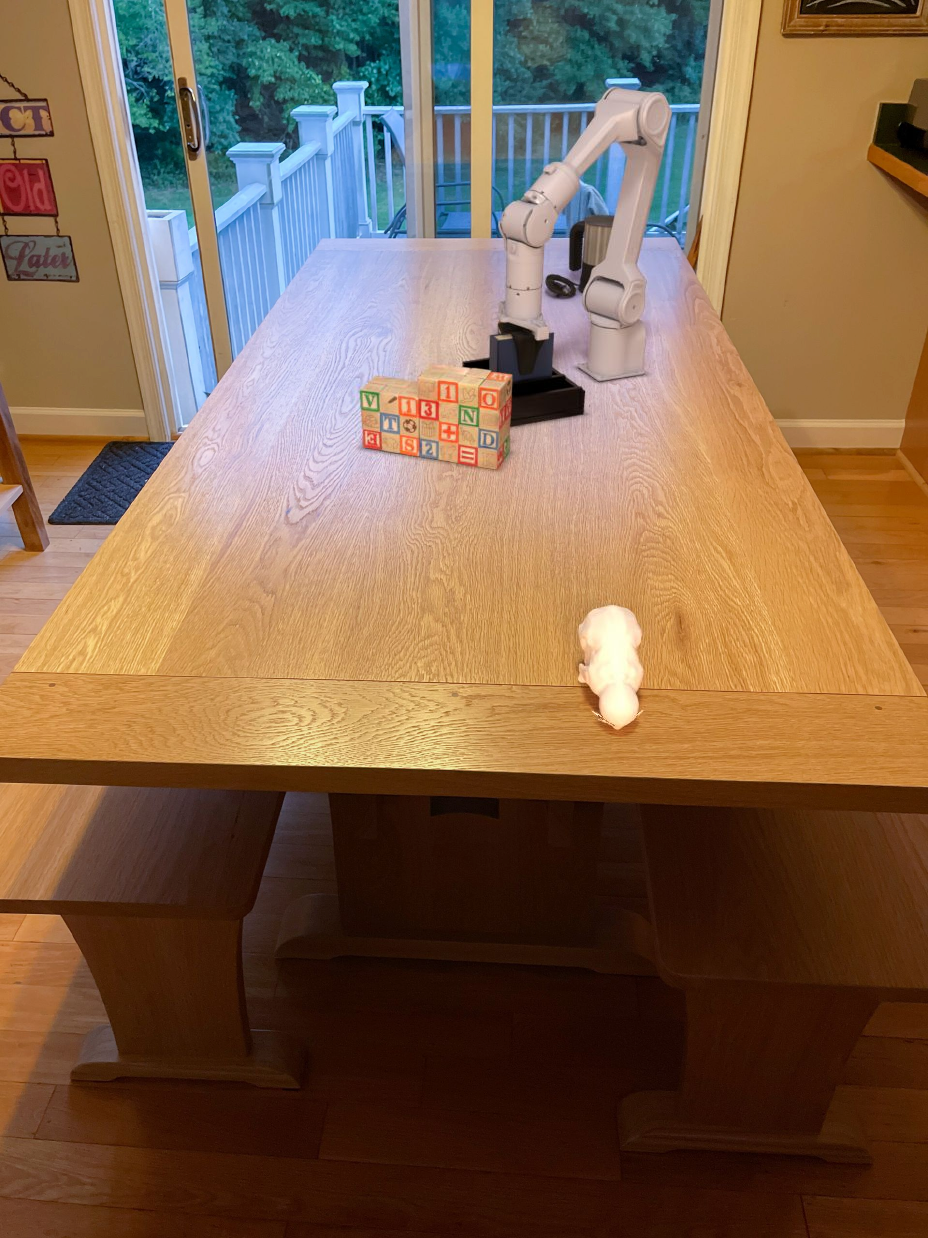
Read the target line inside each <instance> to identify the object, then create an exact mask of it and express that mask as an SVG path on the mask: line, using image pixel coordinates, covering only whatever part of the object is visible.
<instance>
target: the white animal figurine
mask: <svg viewBox="0 0 928 1238" xmlns="http://www.w3.org/2000/svg"><path fill="white" fill-rule="evenodd" d="M577 634H578V637H579V640H578V641H579V645H580V647H581V649H582V651H584V660H583V663H579V664H578V672H579V673H578V676H577V680H578V682H579V683H580V684H586V685H588V687H589V688H590V690H591V691H592V692H593V694H595V695H597V697H598V698H599V700H598V708H599V713H598V712H595V711H594V710H591V712H592V713H593V714H594V715H596V716H597V717H598V715H599V716H600V717H602V716H603V718H604V719H605V720H607V721H608V722H609V723H608V722H606V721H605V720H602V719H601V718H597V720H598V721H600V722H602V723H605V724H608V725H609V726H611V727H612V728H613V729H614V730H620V729H622V728H623V727H625V726H627V725H629V724H630V723H631V722H633V721H634V720H635V719H636V718H637V717H638V716H639V715H641V714H642V713H643V710H640V712H639V708H640V704H639V698H638V695H637V692H638V691H639V689H640V686H641V684H642V682H643V678H644V673H645V671H644V668H643V665H642V664H641V662H640V658H639V654H638V648H639V646H640V645H641V643H642V637H643V630H642V628H641V626H640V625H639V623H638V620H637V618H636V615H635V614H634V612H633V611H632V610H630V609H629V608H627V607H624V606H623V607H622V606H619V605H615V604H607V605H605V606H600V607H596V608H594V609H592V610H591V611H589V612H588V613H587V614H586V616H585V618H584V619H583V622H582V623H580V624H579V625H578V630H577ZM584 663H585V665H586V666H584ZM638 712H639V713H638ZM637 713H638V714H637ZM601 715H602V716H601ZM637 715H638V716H637ZM636 716H637V717H636ZM610 723H612V724H614V725H615V726H613V725H612V724H610Z"/></svg>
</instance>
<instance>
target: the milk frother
mask: <svg viewBox="0 0 928 1238" xmlns="http://www.w3.org/2000/svg"><path fill="white" fill-rule="evenodd" d="M614 216H615V214H613V215H612V214H592V215H587V216H585V217H584V218H583V220H579V221H577V222H575V223H574V224H572V226H571V228H570V230H569V237H568V238H569V240H568V241H569V242H568V269H569V271H571V272H577V271H578V272H579V271H580V270H581V271H580V277H579V280H578V281H579V284H578V283H576V282H574V281H573V280H570V279H569V278H567V277H565V276H563V275H562V276H561V274H554V273H551V274H547V275H546V276H545V279H544V282H545V286H546V288H547V290H549V291H550V292H551V293H553V294H555V295H556V297H564V298H568V297H573V296H575V295H576V293H577V288H576V287H578V290H579V291H580V292H581V293H583V292H584V289H585V287H586V285H587V283H588V281H589V279H590V276H591V272H592V269H593V268H594V267H596V266H597V265H598V264H600V263H601V262H603V261H604V260H605V258H606V253H607V248H608V244H609V239H610V235H611V230H612V226H613V221H614ZM611 280H612V281H615V282H619V281H616V280H613V279H611ZM619 283H621V282H619ZM567 287H568V288H569V291H568V290H567V289H566V288H567Z"/></svg>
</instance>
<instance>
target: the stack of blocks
mask: <svg viewBox="0 0 928 1238" xmlns="http://www.w3.org/2000/svg"><path fill="white" fill-rule="evenodd" d="M511 401H512V375H511V374H504V373H497V372H491V370H484V369H476V368H464V367H462V366H455V365H446V364H440V363H439V364H438V363H431V364H430V365H428V367H427V368H426V369H425V370H424V371H423V372H422V373H421V374H420V375H419V376H418V377H417V381H415V380H412V379H404V378H397V377H395V378H394V377H388V376H381V375H375V376H373V377H372V378H371V379H370V380H369V381H368V382H367V383H366V384H364V385H363V386H362V387H361V388H360V389H359V407H360V412H361V413H360V415H361V418H360V419H361V428H362V446H363V447H362V448H367V449H372V450H379V451H383V452H388V453H396V454H401V455H408V456H413V457H420V458H426V459H432V460H440V461H445V462H451V463H458V464H461V465H467V466H472V467H479V468H482V469H483V468H484V469H489V470H498V469H499V467H501V465H502V463H503V462H504V460H505V459H506V457H507V456H508V455H509V453H510V441H511V440H510V438H511V435H510V433H511V427H510V420H511V404H512V402H511Z"/></svg>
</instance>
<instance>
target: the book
mask: <svg viewBox="0 0 928 1238" xmlns="http://www.w3.org/2000/svg"><path fill="white" fill-rule="evenodd" d="M515 332H516V331H515ZM554 342H555V332H553V331H552V332H551V331H549V339H546V340H545V342H544V343H543V345H542V347H541V349H540V351H539V353H538V356H537V359H536V363H535V366H534V369H533V372H532V374H527V375H520V374H519V370H518V360H517V351H516V346H515V343H514V340H513V338H512V336H511V332H508V333H501V334H500V333H494V334H490V335H489V349H488V350H489V351H488V352H489V353H488V355H489V356H488V358H489V370H491V372H497V373H504V374H511V375H512V382H514V381H521V380H527V379H534V378H540V377H547V376H552V367H553V363H554V362H553V361H554Z"/></svg>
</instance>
